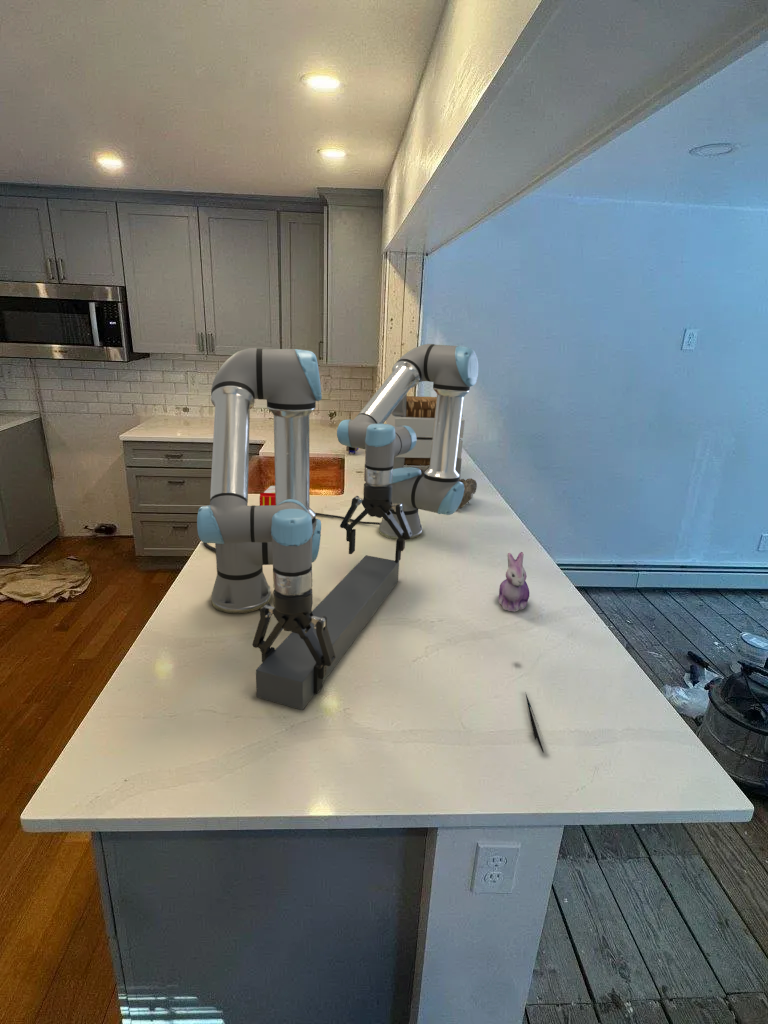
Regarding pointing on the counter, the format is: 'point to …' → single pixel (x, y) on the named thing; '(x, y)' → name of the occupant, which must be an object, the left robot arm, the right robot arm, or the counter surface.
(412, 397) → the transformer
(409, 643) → the counter surface
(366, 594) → the slab
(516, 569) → the figurine
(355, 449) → the figurine character
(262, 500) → the toy
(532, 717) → the feather
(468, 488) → the fossil
